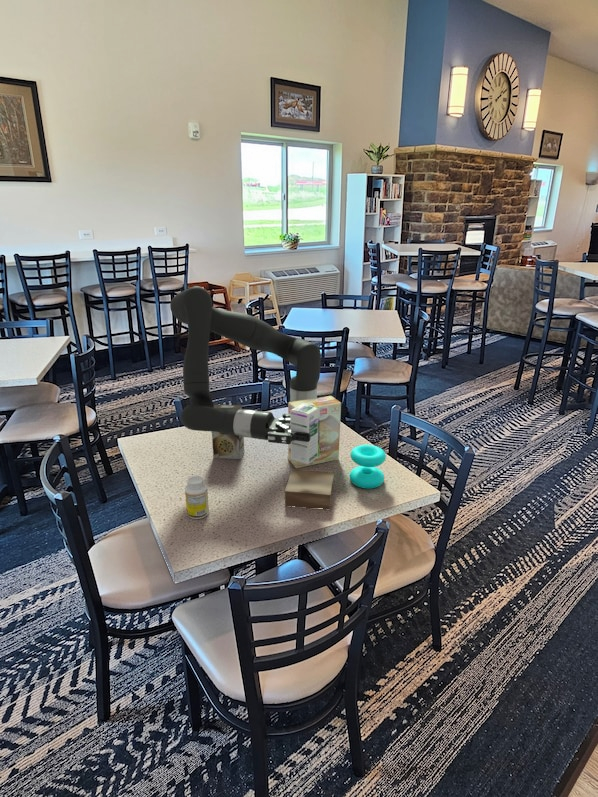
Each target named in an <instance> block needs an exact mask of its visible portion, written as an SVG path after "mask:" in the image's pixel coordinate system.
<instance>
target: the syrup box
mask: <svg viewBox="0 0 598 797" xmlns="http://www.w3.org/2000/svg"><path fill="white" fill-rule="evenodd" d="M290 429H291V430H293V431H295V433H296V432H304V433H310V441H309V442H304V441H297V440H295V441H294V442H292V441H291V459H293V460H295V461H298V462H301V463H305V464H309V463H310V462H312V461H313V460H315V459H316V458H317V457H319V434H320V408H319V407H317V406H314V405H310V404H304V403H302V404H301V405H299V406H297V407H295V408H293V409H292V410H290Z"/></svg>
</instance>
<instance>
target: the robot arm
mask: <svg viewBox="0 0 598 797" xmlns="http://www.w3.org/2000/svg"><path fill="white" fill-rule="evenodd" d="M169 306H170V307H169V308H170V310H171V313H172V316H174V318H175V319H176V320H177V321H179V322H180V323H183V324H185V325H188V337H187V344H186V348H185V349H186V350H185V353H184V357H183V364H182V381H183V391H184V394H185V395H186V396H188V398H189V402H190V404H189V405H186V406H185V407H184V408H183V410H182V411H181V413H180V422H181V423H182V425H183V426H184V427H185V428H186V429H188V430H190V431H200V432H212V431H213V432H221V433H225V434H232V435H239V436H242V437H244V438H248V439H249V438H250V439H257V440H265V441H267V442H268V443H273V444H283V445H288V444H291V441H292V442H294V441H295V440H297V441H304V442H309V441H310V433H304V432H296V433H295V431H293V430H291V429H290V414H288V413H284V412H283V413H282V417H275V416H274V414H273V412H271V411H264V410H256V409H242V410H239V409H232V408H214V402H213V398H212V395H211V391H210V373H209V372H210V371H209V349H210V348H209V347H210V346H209V345H210V335H211V332H212V333H215V334H217V335H219V336H221V337H224V338H226V339H228V340H230V341H233V342H235V343H238V344H240V345H243V346H245V347H248V348H251V349H252V350H256V351H261V352H266V353H271V354H272V355H273V354H274V355H276V356H277V357H280V358H281V359H283V360H285V361H286V362H288V363H290V364H291V365H292V366H295V367H296V371H295V372H296V373H295V374H296V375H295V376H293V377H291V378H290V379H289V380H290V382H289V395H290V396H289V397H290V398H289V402H294V401H300V400H307V399H313V398H318V383H319V380H320V377H321V366H322V365H321V363H322V354H321V350H320V347H319V346H318V345H317V344H315V343H313V342H311V341H308V340H306V339H303V338H298V337H295V336H291V335H288V334H286V333H283V332H280V330H277V329H276V328H275V327H274V326H272V325H271V324H269V323H267V322H265V321H264V320H262V319H259V318H257V317H255V316H253V315H250V314H248V313H243V312H238V311H232V310H225V309H219V308H217V307H215V306H213V298H212V297H211V294H210V293H209V291H208V290H206V288H203V287H202V286H197V285H195V286H191V287H188V288H187V289H185V290H183V291H180V292H179V293H177V294H176V295H175V296H174V297H172V299H171V301H170V305H169Z"/></svg>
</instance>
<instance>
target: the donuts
mask: <svg viewBox="0 0 598 797" xmlns="http://www.w3.org/2000/svg"><path fill="white" fill-rule="evenodd" d="M350 458H351V460H352V461H353V462H354V463H355V464H356V465H358V466H355V467H353V469H352V470H351V471H350V473H349V480H350V482H351V483H352V484H353V485H355V486H356V487H358V488H362V489H368V490H369V489H376V488H378V487H380V486H382V485H383V483H384V481H385V474H384V472H383V471H382V470H381V469H380V468H378V466H381V465H382V464H383V463H385V461H386V459H387V453H386V452H385V450H384V449H382V448H381V447H379V446H377V445H373V444H359V445H357V446H355V447H353V448H352V450H351V451H350Z"/></svg>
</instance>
